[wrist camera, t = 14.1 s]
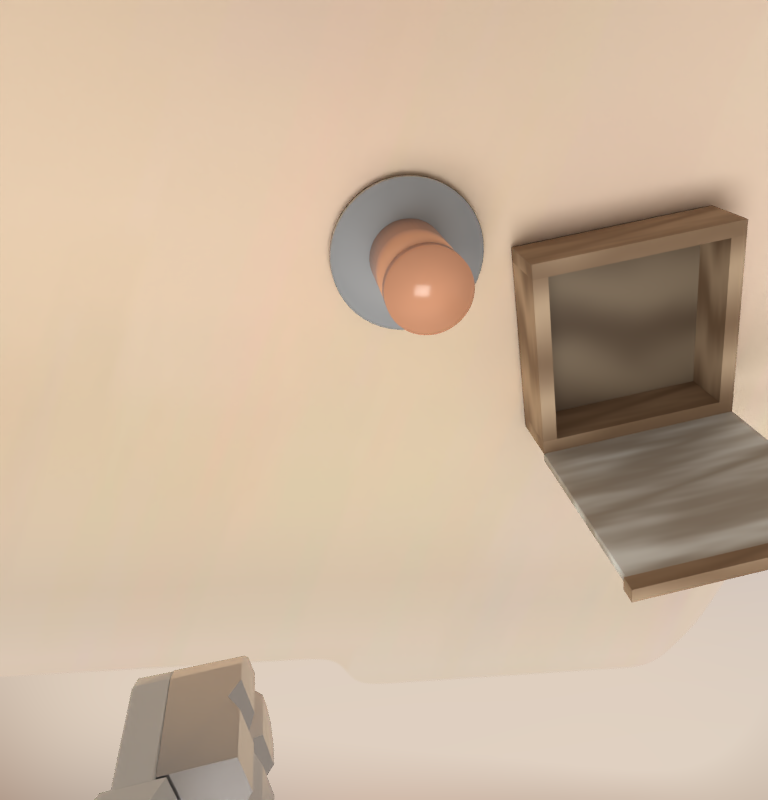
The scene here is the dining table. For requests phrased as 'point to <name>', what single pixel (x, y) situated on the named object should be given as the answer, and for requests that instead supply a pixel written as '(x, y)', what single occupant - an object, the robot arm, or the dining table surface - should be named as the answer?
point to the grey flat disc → (378, 211)
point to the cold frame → (646, 394)
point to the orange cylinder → (421, 277)
